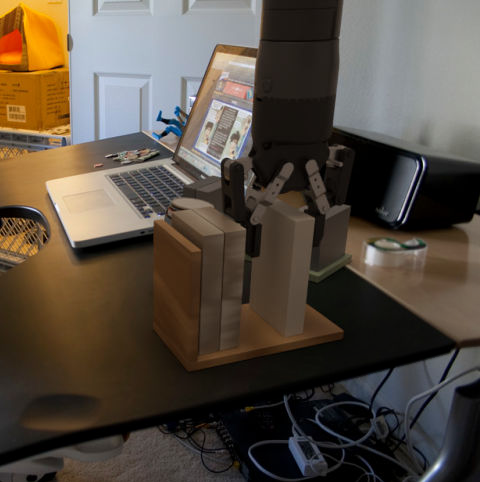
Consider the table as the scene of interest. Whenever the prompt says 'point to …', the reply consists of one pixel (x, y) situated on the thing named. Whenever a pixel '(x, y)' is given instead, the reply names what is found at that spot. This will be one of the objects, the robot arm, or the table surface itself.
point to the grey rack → (336, 221)
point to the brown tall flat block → (282, 268)
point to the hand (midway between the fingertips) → (280, 249)
